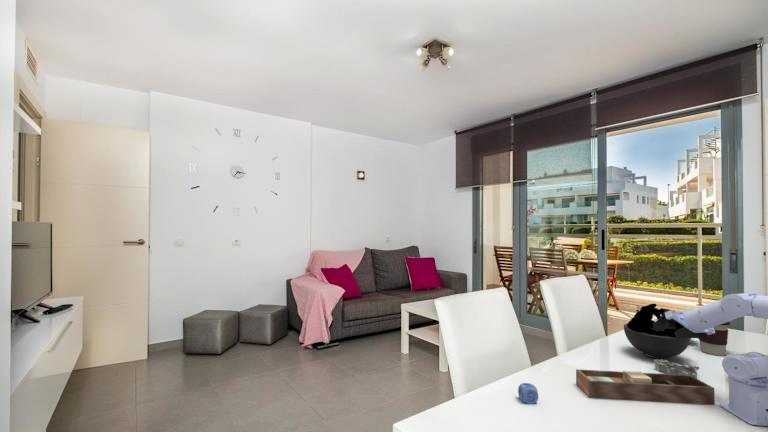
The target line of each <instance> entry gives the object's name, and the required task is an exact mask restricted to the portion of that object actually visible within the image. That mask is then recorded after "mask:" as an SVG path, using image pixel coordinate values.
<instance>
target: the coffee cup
mask: <svg viewBox="0 0 768 432" xmlns="http://www.w3.org/2000/svg"><path fill="white" fill-rule="evenodd" d="M730 325H731V321H730V322H726V323H723V324H720V325H717V326H714V327H713V328H714V330H715V333H714V334H710V335H708V334H706V333H705V335H706V339H698V340H699V348H700V349H699V350H700V351H701V352H702V353H705V354H708V355H712V356H719V355H720V356H722V355H723V356H725V355H726V354H727V345H728V339H729V338H728V337H729V329H728V327H729V326H730Z"/></svg>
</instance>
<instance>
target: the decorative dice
mask: <svg viewBox="0 0 768 432" xmlns="http://www.w3.org/2000/svg"><path fill="white" fill-rule="evenodd" d="M517 391H518V397H519V400H520V401H521V402H523V403H524V404H527V405H533V404H536V403H537V402H538V400H539V391H538V389H537V387H536V386H535V385H534V384H532V383H530V382H522V383H521V384H519V385H518V388H517Z"/></svg>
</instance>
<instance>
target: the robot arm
mask: <svg viewBox="0 0 768 432" xmlns="http://www.w3.org/2000/svg"><path fill="white" fill-rule="evenodd" d="M670 310H671V309H669V310H665V311H664V312H663V314H661V315H660V316H661V317H660V318H659V319H658V320H657V321H656V322H655V323H654V324H653V327H654V330H656V331H659V330H663V329H676V326H675V323H676V322H679V323H680V324H681V325H683V326H684V327H683V328H681V329H678V330H676V331H675V332H674V333H675V336H676V338H677V339H683V338H691V339H698V340H699V339H706V335H705V333H706V334H708V335H710V334H714V333H715V330H714V328H713V327H714V326H717V325H720V324H723V323H726V322H730V323H731V322H732V321H733V320H736V319H739V318H742V317H743V318H744V317H753V318H757V319H765V320H768V295H759V294H757V293H755V292H748V293H744V292H743V293H730V294H727V295H724V296H723V297H721V298H720V299H719V300H715V301H713V302H710V303H707V304H704V305H701V306H699V307H697V308H694V309H689V308H685V309H684V310H683V311H675V310H671V311H670ZM674 311H675V312H674ZM721 366H722V368H723V371H724V372H725V373H726V375H728V376H727V377H728V403H729V404H725V403H724V404H722V403H720V404H719V407H721V408H722V409H724V410H725V411H727V412H729V413H731V414H732V415H734V416H736V417H738V418H739V419H741V420H743V421H745V422H746V423H748V424H750V425H752V426H763V427H764V426H765V427H768V354H766V353H765V354H764V353H761V352H758V351H750V352H749V351H748V352H746V353H745V352H744V353H739V354H728V355H726V356H725V357H723V359H722V362H721Z"/></svg>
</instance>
